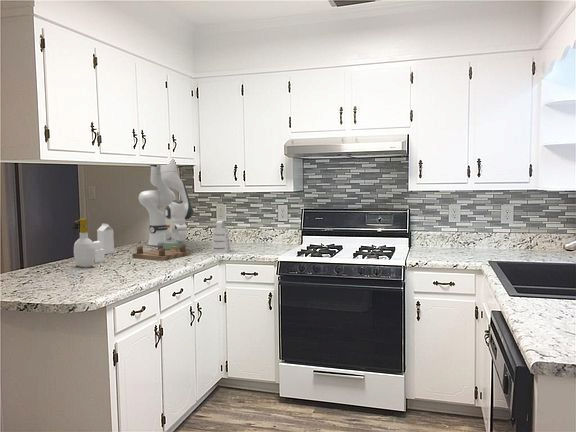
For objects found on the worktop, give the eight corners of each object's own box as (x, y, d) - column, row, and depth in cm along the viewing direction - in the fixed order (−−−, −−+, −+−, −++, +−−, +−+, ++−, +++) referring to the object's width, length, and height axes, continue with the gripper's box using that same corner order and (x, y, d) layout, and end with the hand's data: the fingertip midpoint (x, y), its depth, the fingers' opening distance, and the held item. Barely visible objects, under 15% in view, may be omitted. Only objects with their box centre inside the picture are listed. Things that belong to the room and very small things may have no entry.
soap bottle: (68, 266, 261) (66, 218, 259) (83, 264, 268) (81, 217, 266) (85, 269, 253) (83, 219, 251) (99, 266, 261) (98, 218, 259)
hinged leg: (156, 249, 303) (156, 243, 303) (159, 248, 308) (158, 242, 307) (183, 249, 302) (183, 243, 302) (185, 248, 307) (185, 242, 306)
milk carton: (104, 254, 301) (103, 224, 300) (97, 253, 305) (96, 223, 304) (114, 253, 307) (113, 223, 305) (107, 252, 311) (106, 223, 310)
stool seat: (161, 252, 310) (161, 242, 309) (189, 255, 298) (189, 244, 297) (132, 257, 289) (132, 247, 288) (162, 261, 277) (161, 249, 277)
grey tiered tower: (230, 250, 317) (230, 220, 315) (227, 252, 307) (226, 221, 305) (215, 250, 318) (214, 220, 316) (211, 252, 308) (210, 221, 306)
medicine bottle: (86, 262, 274) (85, 241, 273) (96, 260, 280) (95, 240, 279) (94, 263, 271) (94, 242, 270) (105, 261, 277) (104, 240, 276)
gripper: (169, 224, 315) (169, 245, 316) (177, 227, 297) (178, 249, 298) (178, 223, 318) (178, 244, 319) (187, 227, 300) (188, 248, 301)
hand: (178, 247), depth 308 cm, fingers closed
